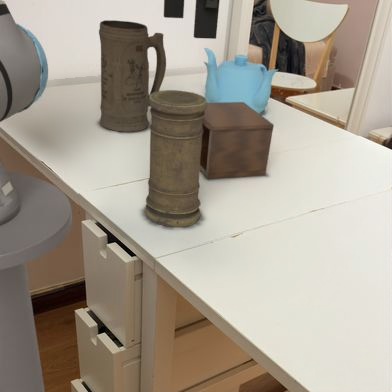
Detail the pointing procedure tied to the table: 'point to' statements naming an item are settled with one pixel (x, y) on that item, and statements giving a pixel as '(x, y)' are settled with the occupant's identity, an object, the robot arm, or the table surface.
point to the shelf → (234, 141)
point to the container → (175, 157)
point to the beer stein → (127, 74)
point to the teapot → (238, 82)
